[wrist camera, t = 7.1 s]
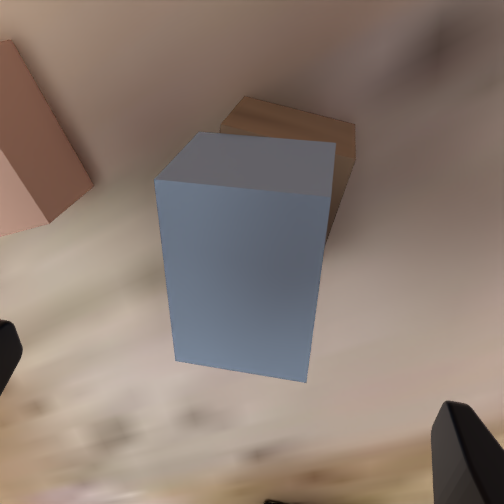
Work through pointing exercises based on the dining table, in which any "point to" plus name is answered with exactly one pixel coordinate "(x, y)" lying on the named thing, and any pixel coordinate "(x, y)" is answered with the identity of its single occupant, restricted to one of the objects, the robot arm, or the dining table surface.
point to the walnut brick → (298, 136)
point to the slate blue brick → (245, 250)
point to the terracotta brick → (32, 152)
